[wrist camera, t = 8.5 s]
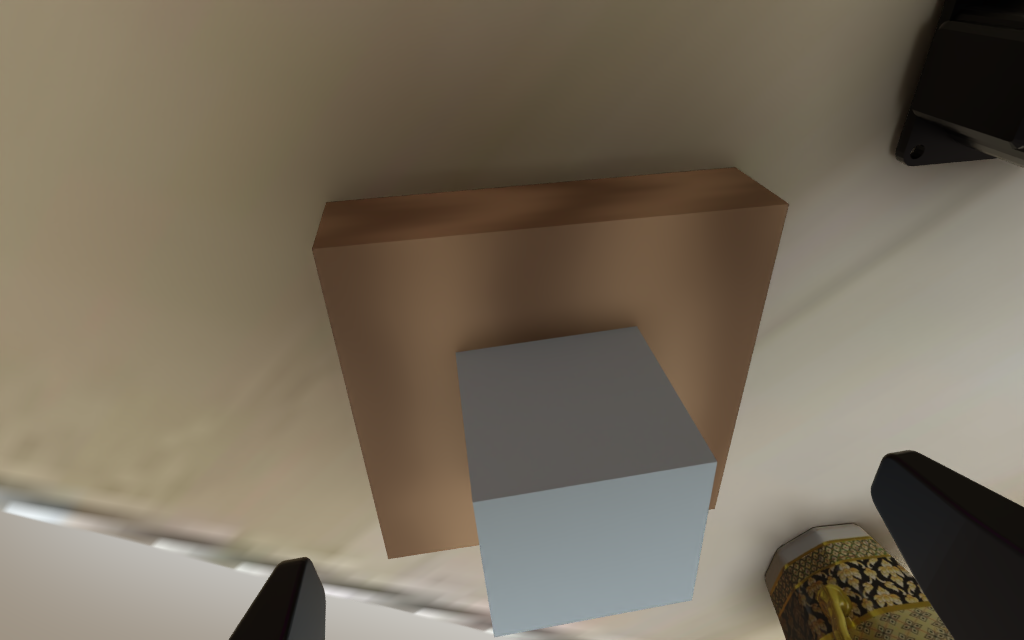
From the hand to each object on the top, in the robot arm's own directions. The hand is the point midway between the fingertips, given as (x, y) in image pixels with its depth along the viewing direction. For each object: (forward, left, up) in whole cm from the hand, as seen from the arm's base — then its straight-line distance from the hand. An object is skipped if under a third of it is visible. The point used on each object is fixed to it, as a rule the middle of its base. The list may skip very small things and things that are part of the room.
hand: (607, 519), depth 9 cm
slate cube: (-1, +6, -10) cm, 12 cm away
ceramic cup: (-17, +23, -13) cm, 32 cm away
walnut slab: (-1, +6, -14) cm, 15 cm away
